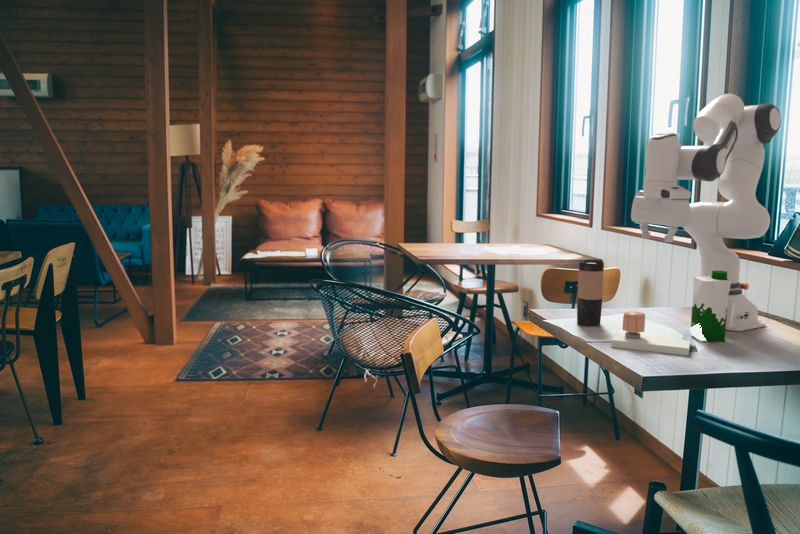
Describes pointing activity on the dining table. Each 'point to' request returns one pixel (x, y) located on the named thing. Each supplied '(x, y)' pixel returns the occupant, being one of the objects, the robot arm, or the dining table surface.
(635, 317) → the cap
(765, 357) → the dining table surface
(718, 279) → the milk carton
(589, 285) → the travel mug
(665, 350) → the post board
